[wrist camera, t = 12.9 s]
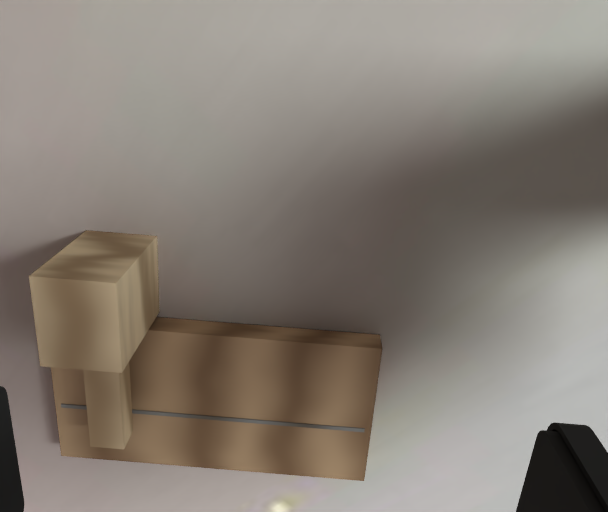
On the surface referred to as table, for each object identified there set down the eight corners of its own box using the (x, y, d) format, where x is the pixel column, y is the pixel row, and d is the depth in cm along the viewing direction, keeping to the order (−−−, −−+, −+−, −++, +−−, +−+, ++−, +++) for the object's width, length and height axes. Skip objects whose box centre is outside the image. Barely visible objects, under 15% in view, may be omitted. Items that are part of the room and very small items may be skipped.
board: (379, 334, 41) (382, 349, 39) (362, 462, 45) (364, 481, 43) (58, 309, 41) (44, 322, 39) (72, 438, 46) (60, 456, 44)
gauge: (157, 235, 39) (116, 283, 31) (162, 405, 44) (128, 480, 37) (86, 230, 39) (28, 276, 31) (100, 400, 44) (54, 474, 37)
